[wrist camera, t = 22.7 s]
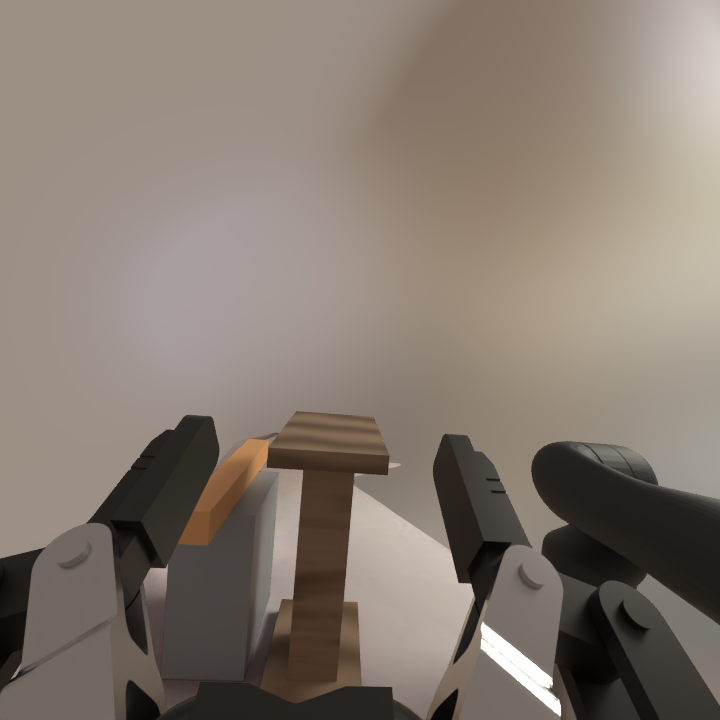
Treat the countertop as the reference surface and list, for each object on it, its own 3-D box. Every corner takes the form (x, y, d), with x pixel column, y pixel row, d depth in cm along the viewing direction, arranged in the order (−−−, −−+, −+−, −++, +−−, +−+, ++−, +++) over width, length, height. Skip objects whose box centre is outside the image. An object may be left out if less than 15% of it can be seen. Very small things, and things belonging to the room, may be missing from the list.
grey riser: (243, 681, 37) (255, 515, 37) (160, 678, 37) (171, 511, 36) (269, 595, 50) (279, 472, 50) (208, 592, 50) (217, 468, 49)
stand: (362, 759, 31) (389, 455, 30) (245, 757, 30) (268, 447, 29) (356, 614, 48) (373, 416, 47) (281, 611, 47) (296, 411, 46)
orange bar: (207, 545, 31) (209, 511, 31) (172, 543, 31) (174, 510, 30) (267, 459, 55) (268, 440, 55) (247, 458, 54) (249, 439, 54)
